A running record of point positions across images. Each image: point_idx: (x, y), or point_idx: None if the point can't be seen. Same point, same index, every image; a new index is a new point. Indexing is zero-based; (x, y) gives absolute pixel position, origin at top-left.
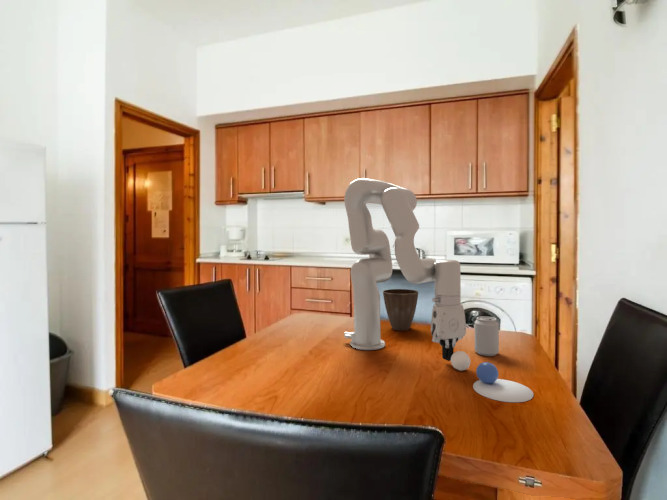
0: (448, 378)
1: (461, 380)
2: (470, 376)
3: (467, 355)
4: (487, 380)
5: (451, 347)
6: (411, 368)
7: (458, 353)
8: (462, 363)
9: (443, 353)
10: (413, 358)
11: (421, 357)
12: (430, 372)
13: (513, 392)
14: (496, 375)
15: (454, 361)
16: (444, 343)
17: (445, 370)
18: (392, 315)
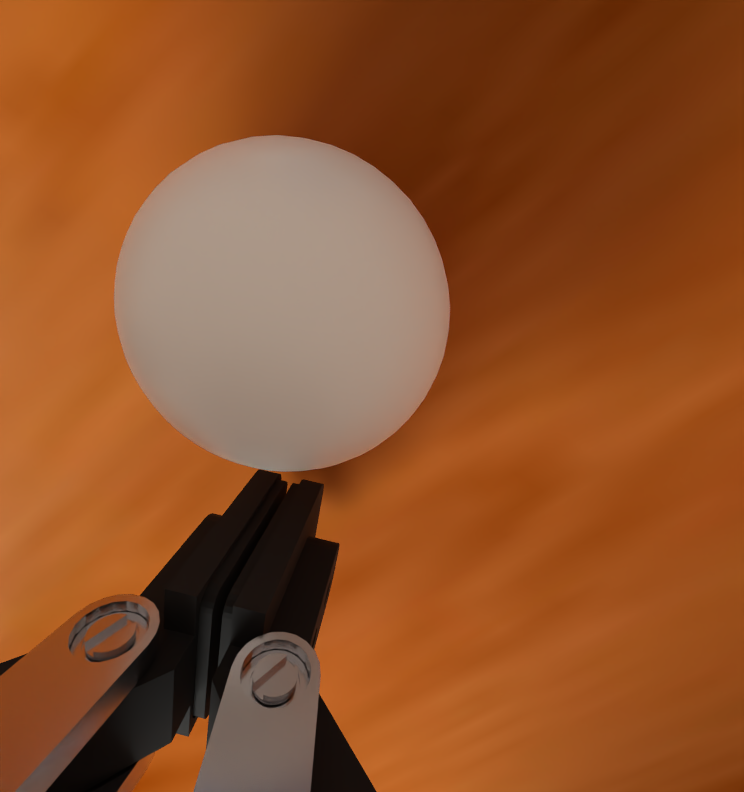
0: (698, 199)
1: (638, 28)
2: (406, 65)
3: (176, 189)
4: None
5: (188, 615)
6: (700, 634)
7: (330, 325)
8: (395, 185)
9: (323, 608)
10: (446, 745)
11: (367, 720)
12: (665, 459)
13: None
14: None
15: (449, 319)
16: (303, 783)
17: (477, 398)
18: None
